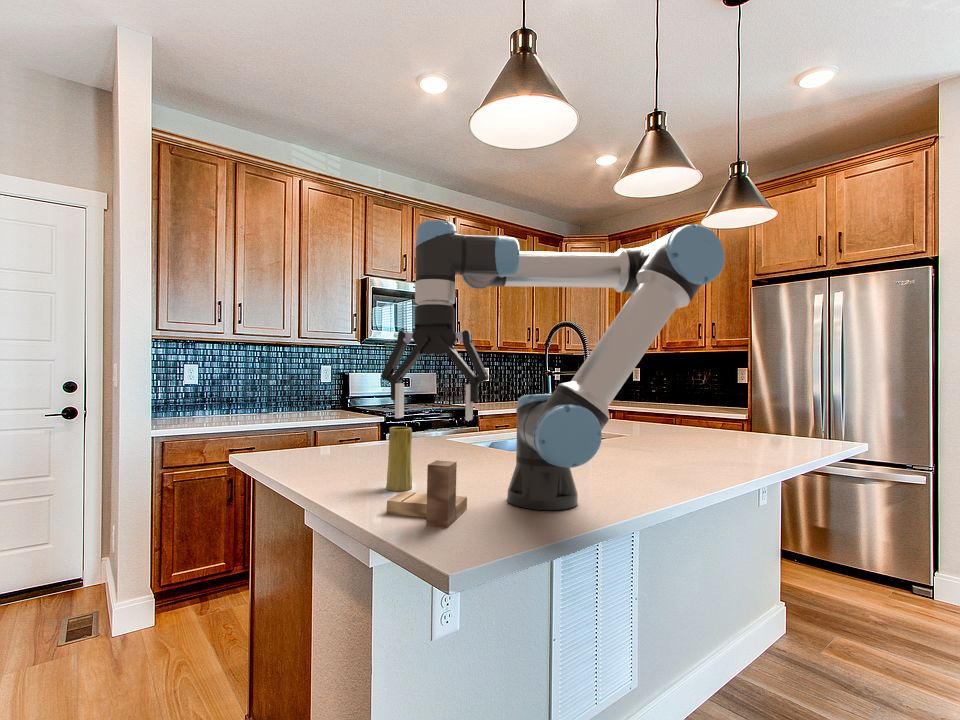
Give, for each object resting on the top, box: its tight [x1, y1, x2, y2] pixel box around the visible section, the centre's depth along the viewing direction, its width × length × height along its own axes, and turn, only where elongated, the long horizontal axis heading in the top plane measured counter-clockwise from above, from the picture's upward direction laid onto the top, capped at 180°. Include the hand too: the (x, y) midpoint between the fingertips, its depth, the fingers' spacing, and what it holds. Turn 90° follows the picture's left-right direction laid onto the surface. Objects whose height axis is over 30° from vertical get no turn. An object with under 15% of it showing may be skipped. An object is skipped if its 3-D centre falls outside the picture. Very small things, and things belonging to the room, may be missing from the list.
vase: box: [385, 426, 413, 492], centre depth 124 cm, size 6×6×14 cm
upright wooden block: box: [425, 459, 458, 529], centre depth 99 cm, size 4×10×11 cm, turn 167°
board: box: [386, 491, 468, 521], centre depth 104 cm, size 14×8×3 cm, turn 76°
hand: (433, 419), depth 98 cm, fingers open, 13 cm apart
